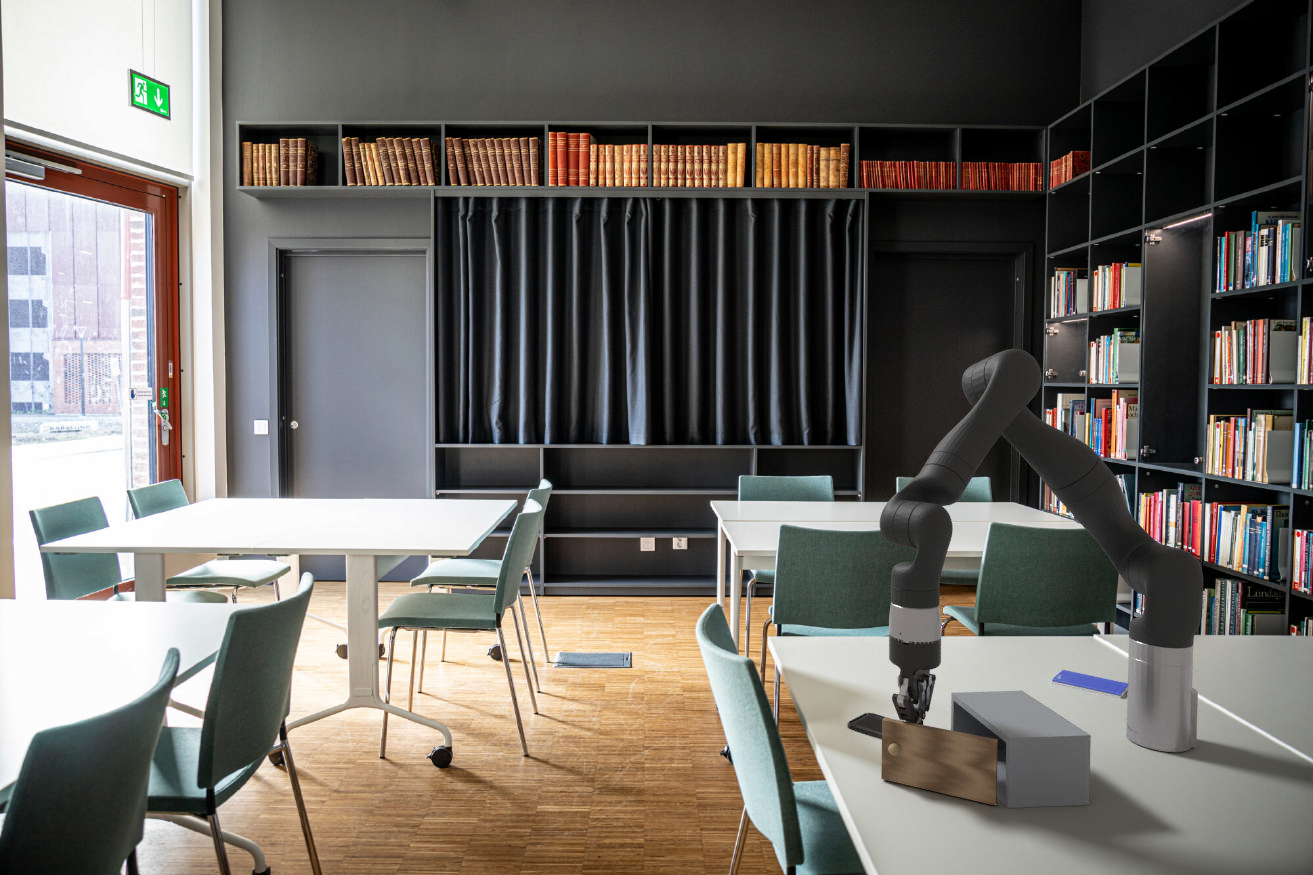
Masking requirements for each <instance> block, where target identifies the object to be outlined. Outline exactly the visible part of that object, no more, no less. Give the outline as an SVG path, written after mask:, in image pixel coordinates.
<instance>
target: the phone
mask: <svg viewBox="0 0 1313 875" xmlns="http://www.w3.org/2000/svg"><path fill="white" fill-rule="evenodd" d="M884 717H885V718H888V717H887V716H884V715H880V714H877V713H874V712H864V713H863V714H861V715H859V716H857V717H855V718H853V719H851V720H849V721H848V722H847V729H848V730H851V731H854V732H857V733H860V734H863V735H866V736H868V737H869V736H870V737H872V738H875V739H877V740H878V739H879V740H881V741H882V720H883V718H884ZM889 718H890V717H889ZM890 719H892V718H890Z"/></svg>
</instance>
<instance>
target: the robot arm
mask: <svg viewBox="0 0 1313 875" xmlns="http://www.w3.org/2000/svg"><path fill="white" fill-rule="evenodd" d="M1041 370H1042V369H1041V368H1040V365H1039V363H1038V361H1037V360H1036V358H1035V357H1034V356H1033V355H1031V354H1030V353H1029V352H1027V351H1026V350H1023V349H1019V348H1011V349H1005V350H1003V351H999V352H997V353H995V354H993V355H991V356H989V357H986V358H984V359H982V360H980V361H977V362H975V363H974V364H972V365H970V366H969V367H967V369H965V370H964V372H963V375H962V377H961V386H962V390H963V393H964V396H965V398H966V399H967V401H968V402H969V404H970V405H971V407H972V408H971V410H970V411H969V412H968V413H967V414H966V415H965V416H964V417H963V418H962V419H961V420H960V421H959V422H958V423H957V424H956V425H954V427H953V428H952V429H951V430H950V431H948V433H947V434H945V436H944V437H943V438H942V439H941V440H940V442H938V443H937V445H936V447H935V448H934V449H933V451H932V452H931V453H930V455H929V457H928V458H927V460H926V462H925V463H924V465H923V467H922V468H921V470H920V471H919V473H918V474H917V475H916V476H915V477H913V478H912V479H911V480H910V481H908V482H907V483H906V484H905V485H904V486H903V487H901V489H900V490H898V491H897V492H896V493H895V494H894V495H893V496H891V498H890V499H888V501H887V502H886V504H885V506H884V507H883V509H882V512H881V514H880V517H879V518H880V519H879V529H880V530H879V531H880V533H881V536H882V537H883V539H884V540H886V541H887V542H888V543H890V544H892V545H895V546H898V547H904V548H905V547H906V548H911V549H916V554H915V556H914V559H913V561H904V562H903V561H902V562H898V563H897V564H895V565H894V566H893V567H892V569H891V574H890V575H891V576H890V580H891V581H890V609H889V617H888V629H889V630H888V642H889V643H888V646H889V647H888V660H889V661H890V662H891V663H892V665H895V666H896V667H898V668H899V669H900V671H899V675H898V677H897V688H898V689H899V692H898V693H893V694H892V695H891V701H892V704H893V706H894V708H895V711H896V714H897V716H898V718H899V719H898V720H900V721H905V722H910V723H916V724H921V725H924V720H925V719H926V716H927V714H926V712H927V713H929V711H930V708H931V707H930V706H931V703H932V698H933V692H934V689H935V684H936V681H937V680H936V679H937V676H936V674H934V673H931V670H934V669H937V668H938V667H940V665H941V663H942V615H941V608H940V607H941V606H940V605H941V604H940V601H941V600H940V597H941V596H940V595H941V594H940V592H941V591H940V588H941V587H940V584H941V583H940V582H941V580H940V579H941V575H942V571H943V568H944V563H945V561H946V557H947V555H948V554H947V553H948V550H949V547H950V544H951V541H952V536H953V531H954V529H953V521H952V518H951V516H950V513H949V512H948V510H947V509H946V508H945V507H947V506H951V505H954V504H955V503H957V502H959V501H958V500H960V498H961V497H962V495H963V493H965V490H966V489H967V487H968V486H969V484H970V482H971V480H972V479H973V477H974V476H975V474H976V471H977V470H978V468H979V467H980V465H981V464H982V462H983V461H984V459H985V457H986V456H987V455H988V453H989V452H990V450H991V449H992V448H993V446H994V445H995V444H996V442H997V441H998V440H999V438H1001V436H1002V437H1003V438H1004V439H1005V440H1006V441H1007V442H1008V443H1010V445H1011V446H1012V447H1013V448H1014V449H1015V450H1016V451H1017V453H1019V454H1020V456H1021V457H1022V458H1023V459H1024V460H1025V461H1026V462H1027V463H1028V465H1029V466H1030V467H1031V468H1032V469H1033V470H1034V471H1035V472H1036V473H1037V475H1038V476H1039V477H1040V479H1041V480H1042V481H1043V482H1044V483H1045V484H1046V487H1048V488H1049V490H1050V491H1051V492H1052V494H1054V495H1055V497H1056V498H1057V499H1058V500H1059V501H1060V503H1062V505H1063V506H1064V507H1065V508H1066V509H1067V510H1068V511H1069V512H1070V513H1071V514H1072V516H1073V517H1074V518H1075V519H1076V521H1078V522H1079V524H1080V525H1081V526H1082V527H1083V528H1084V529H1085V530H1086V532H1088V533H1089V534H1090V536H1092V537H1093V539H1094V540H1095V541H1096V543H1098V545H1099V546H1100V547H1101V549H1102V551H1103V552H1104V553H1105V555H1106V556H1107V557H1108V559H1109V560H1110V562H1111V563H1112V565H1113V566H1114V568H1115V569H1116V571H1117V572H1118V574H1119V575H1120V577H1121V578H1122V580H1123V581H1124V582H1125V583H1126V585H1128V586H1129V587H1130V588H1131V589H1132V590H1133V591H1135V593H1138V594H1140V595H1142V596H1144V597H1145V598H1144V607H1143V614H1142V615H1141V616H1139V617H1135V618H1132V619H1131V620H1130V621H1129V625H1128V626H1129V627H1128V657H1127V658H1128V660H1127V662H1128V664H1127V683H1128V690H1127V691H1126V692H1127V695H1126V696H1127V699H1126V700H1127V701H1126V730H1125V731H1126V737H1127V738H1128V740H1130V741H1131V742H1133V743H1134V744H1136V745H1138V746H1142V747H1143V748H1147V749H1151V750H1155V751H1161V752H1169V753H1182V752H1186V751H1189V750H1190V749H1191V748H1197V741H1198V740H1197V739H1198V736H1197V735H1198V733H1197V732H1198V705H1199V704H1198V702H1199V700H1198V699H1199V698H1198V697H1199V693H1198V692H1199V691H1198V690H1197V689H1195V688H1194V687H1193V679H1194V678H1193V674H1194V673H1193V672H1194V671H1193V670H1194V642H1195V641H1194V640H1195V635H1196V634H1197V631H1198V629H1199V627H1200V624H1201V618H1202V617H1201V614H1202V606H1203V605H1202V604H1203V595H1204V594H1203V593H1204V592H1203V591H1204V576H1203V569H1202V566H1201V563H1200V561H1199V560H1198V559H1197V558H1196V556H1194V555H1193V554H1192V553H1190V552H1188V551H1186V550H1183V549H1181V548H1177V547H1174V546H1170V545H1166V544H1163V543H1161V542H1158V541H1157V540H1156V539H1155V538H1153V536H1151V535H1150V534H1149V533H1148V532H1147V531H1146V530H1145V529H1144V528H1143V527H1142V526H1141V525H1140V524H1139V522H1138V521H1137V520H1136V519H1135V518H1134V517H1133V515H1132V514H1131V512H1130V511H1129V509H1128V506H1127V503H1126V499H1125V496H1124V493H1123V490H1122V488H1121V485H1120V482H1119V480H1118V478H1117V477H1116V475H1114V473H1113V471H1112V470H1111V469H1110V468H1109V466H1107V464H1106V463H1105V461H1103V459H1102V458H1101V457H1100V456H1099V455H1098V453H1097V452H1096V451H1095V449H1093V448H1092V447H1090V446H1089V445H1088V444H1087V443H1086V442H1083V441H1082V440H1080V439H1078V438H1077V437H1074V436H1073V435H1072V434H1069V433H1067V432H1065V431H1063V430H1060V429H1058V427H1057V428H1056V427H1055V426H1052V425H1051V424H1049V423H1047V422H1045V421H1043V420H1042V419H1040V418H1039V417H1038V416H1037V415H1035V414H1034V413H1033V412H1032V411H1031V410H1030V409H1029V408H1028V407H1027V405H1028V404H1029V403H1030V402H1031V400H1033V398H1035V396H1036V395H1037V393H1038V392H1039V391H1040V390H1039V389H1040V388H1041V385H1042V371H1041Z"/></svg>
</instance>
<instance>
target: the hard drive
mask: <svg viewBox="0 0 1313 875" xmlns="http://www.w3.org/2000/svg"><path fill="white" fill-rule="evenodd" d="M1051 684H1052V685H1055V686H1056V685H1057V686H1061V687H1064V688H1070V689H1074V690H1080V691H1085V692H1088V693H1094V694H1098V695H1104V696H1108V697H1113V698H1116V699H1121V698H1122V697H1123V696H1124V695H1125V694H1126V692H1128V682H1123V681H1119V680H1112V679H1110V678H1104V677H1099V676H1096V675H1095V676H1094V675H1089V674H1085V673H1080V672H1076V671H1071V670H1066V669H1062V670H1061V671H1059V672H1058V673H1057V674H1056V675H1055V676H1054V677H1053V678H1052V679H1051Z"/></svg>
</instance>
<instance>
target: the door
mask: <svg viewBox="0 0 1313 875" xmlns="http://www.w3.org/2000/svg"><path fill="white" fill-rule="evenodd" d="M885 717H886V716H884V718H883V720H882V740H881V777H880V778H881V780H885V781H890V782H894V783H898V784H901V785H907V786H910V787H915V788H920V789H923V790H928V791H932V792H937V793H941V794H944V795H949V796H953V797H957V798H962V799H965V800H966V799H967V800H970V801H975V802H977V803H983V804H986V805H987V804H988V805H992V806H997V800H998V798H997V758H998V739H992V738H987V737H982V736H977V735H972V734H967V733H962V732H957V731H951V729H946V728H941V727H935V726H930V725H926V724H925V725H924V724H923V725H921V724H916V723H910V722H906V721H905V720H900V719H896V718H895V719H894V718H891V719H890V717H887V718H885Z"/></svg>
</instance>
